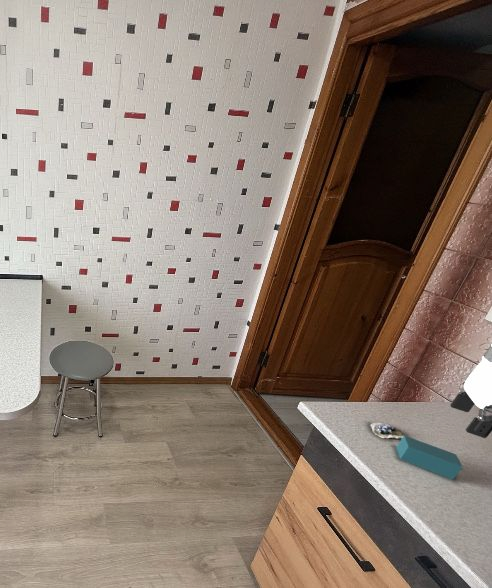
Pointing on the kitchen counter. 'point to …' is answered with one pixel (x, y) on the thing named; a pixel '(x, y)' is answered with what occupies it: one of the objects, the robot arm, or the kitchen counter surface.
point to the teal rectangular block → (429, 457)
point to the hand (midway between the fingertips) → (466, 421)
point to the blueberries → (385, 430)
